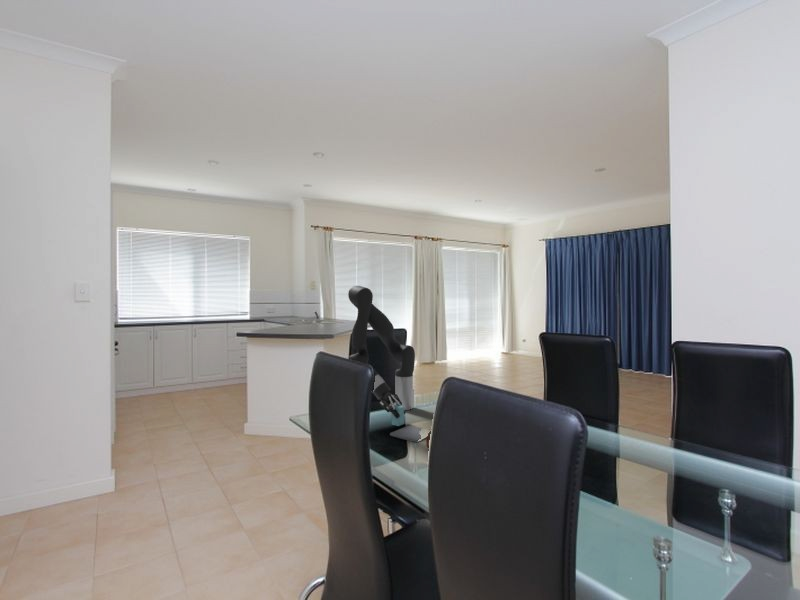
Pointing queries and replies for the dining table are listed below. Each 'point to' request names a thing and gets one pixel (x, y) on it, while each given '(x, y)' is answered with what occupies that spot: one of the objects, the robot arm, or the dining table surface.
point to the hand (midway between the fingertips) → (401, 415)
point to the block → (401, 419)
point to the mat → (408, 433)
